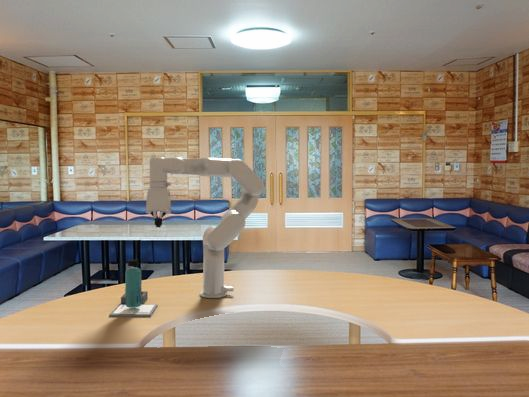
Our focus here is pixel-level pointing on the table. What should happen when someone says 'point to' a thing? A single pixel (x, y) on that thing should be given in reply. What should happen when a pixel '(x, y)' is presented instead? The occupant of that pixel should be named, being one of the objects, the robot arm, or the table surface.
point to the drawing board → (133, 311)
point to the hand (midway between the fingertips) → (158, 226)
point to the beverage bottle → (133, 285)
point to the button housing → (144, 296)
